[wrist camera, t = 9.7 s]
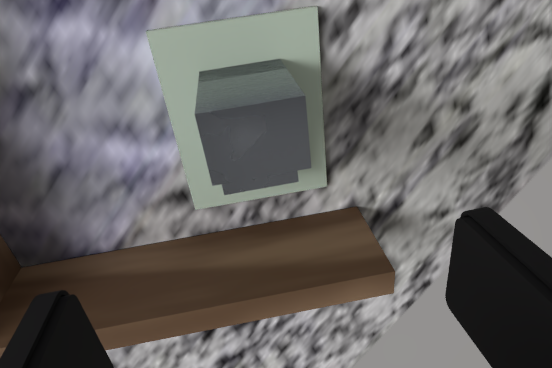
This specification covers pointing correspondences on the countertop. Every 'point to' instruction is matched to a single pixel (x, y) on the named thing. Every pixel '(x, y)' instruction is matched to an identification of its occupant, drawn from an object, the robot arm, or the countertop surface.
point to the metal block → (252, 126)
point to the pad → (231, 52)
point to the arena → (207, 278)
